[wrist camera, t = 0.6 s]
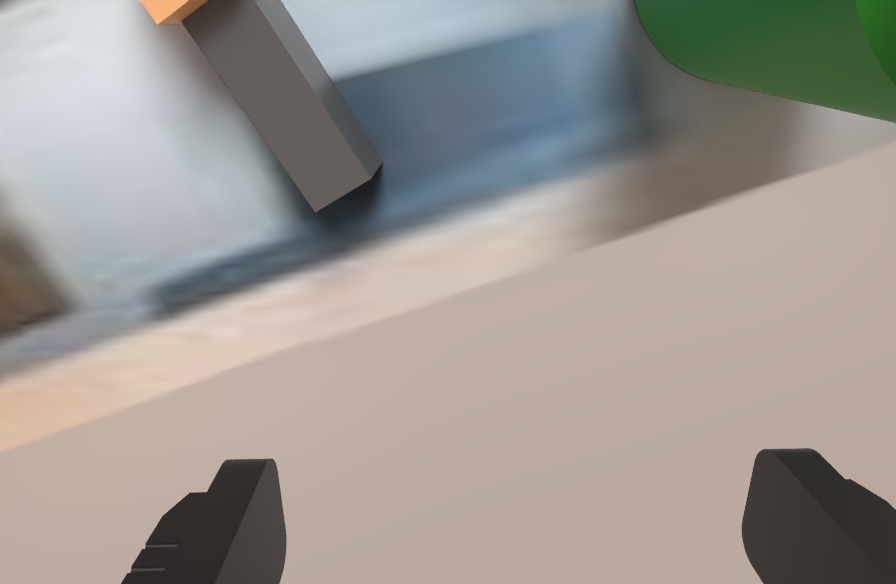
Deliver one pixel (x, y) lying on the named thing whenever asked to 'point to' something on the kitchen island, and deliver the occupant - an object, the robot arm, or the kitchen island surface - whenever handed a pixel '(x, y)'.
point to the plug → (279, 91)
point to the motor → (785, 48)
